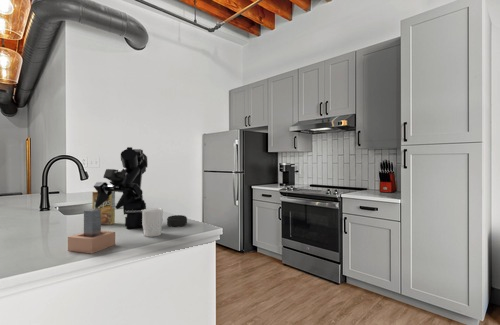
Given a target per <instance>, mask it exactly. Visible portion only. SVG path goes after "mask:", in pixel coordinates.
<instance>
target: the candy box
mask: <svg viewBox="0 0 500 325" xmlns="http://www.w3.org/2000/svg"><path fill="white" fill-rule="evenodd" d="M97 195H98V192H97V190H95V191H92V203H91V204H92V208H91V209H101V225H104V226H105V225H107V226H108V225H110V226H111V225H113V224H115V223H116V221H115V220H116V219H115V218H116V211H115V210H116V208H115V207H116V192H113V191H112V194H111V195H109V198H108V199H107V200H106V201H105V202H104V203H103V204H101V205H100V206H99V207H98V208H96V207H95V204H96V200H97Z"/></svg>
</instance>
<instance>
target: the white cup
mask: <svg viewBox="0 0 500 325" xmlns="http://www.w3.org/2000/svg"><path fill="white" fill-rule="evenodd" d="M141 211H142V226H143V228H142V229H143V237H147V238H151V237H152V238H154V237H158V236H161V235H162V228H163V215H164V214H163V213H164V210H163V208H158V207H157V208H156V207H154V208H146V209H144V210H141Z"/></svg>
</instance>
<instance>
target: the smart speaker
mask: <svg viewBox="0 0 500 325" xmlns="http://www.w3.org/2000/svg"><path fill="white" fill-rule="evenodd" d="M187 224H188V217H187V216H186V215H183V214H177V215H170V216H168V217H167V218H166V225H168V227H171V226H172V228H176V227H177V226H180V227H183V226H186V225H187ZM177 228H178V227H177Z"/></svg>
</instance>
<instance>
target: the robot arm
mask: <svg viewBox="0 0 500 325" xmlns="http://www.w3.org/2000/svg"><path fill="white" fill-rule="evenodd" d="M120 161H121V166H122V168H119V169H115V168H114V169H113V168H110V169H109V168H106V169H105V170H104V174H103V179H107V180H108V181H109V183H110V184H111V185H109V184H108V183H107V182H106V181H104V182H103V181H97V182H96V183H95V184H94V185H93V188H94V189H95V191H97V192H98V195H97V200H96V204H95V207H96V208H98V207H99V206H100V205H101V204H103V203H104V202H105V201H106V200H107V199H108V198H109V195H111V194H112V191H113V192H115V193H116V192H117V193H122V195H121V196H120V198H119V199H118V201H117V203H116V204H115V210H119V209H120V208H122V207H123V208H122V209H123V216H124V215H126V216H125V217H124V219H125V220H124V227H125V228H126V229H127V230H132V229H141V228H142V229H143V218H142V210H144V209H147V203H146V202H145V199H144V197H143V192H144V191H143V190H142V189H141V188H142V179H143V174H144V173H146V171H147V168H148V156H147V155H146V154H145V153H144V149H142V148H140V149H139V148H137V149H136V148H134V149H133V146H127V147H126V148H125V149H124V150H122V151H121V152H120Z"/></svg>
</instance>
